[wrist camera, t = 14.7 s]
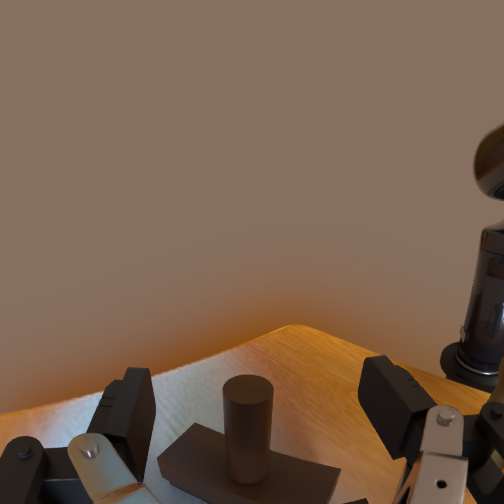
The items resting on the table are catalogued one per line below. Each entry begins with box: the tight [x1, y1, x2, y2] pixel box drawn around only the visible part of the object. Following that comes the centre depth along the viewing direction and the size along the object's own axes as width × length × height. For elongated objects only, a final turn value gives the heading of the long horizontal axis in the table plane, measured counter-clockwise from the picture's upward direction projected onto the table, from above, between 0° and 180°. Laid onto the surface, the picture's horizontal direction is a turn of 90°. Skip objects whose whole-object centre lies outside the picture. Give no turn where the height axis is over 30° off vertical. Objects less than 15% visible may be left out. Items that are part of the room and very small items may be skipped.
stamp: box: [157, 375, 341, 504], centre depth 18 cm, size 5×12×11 cm, turn 64°
